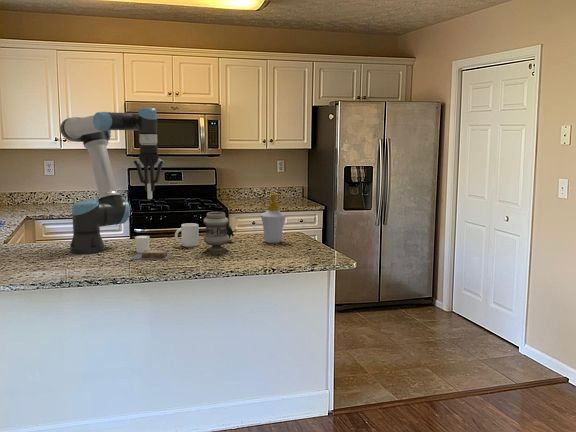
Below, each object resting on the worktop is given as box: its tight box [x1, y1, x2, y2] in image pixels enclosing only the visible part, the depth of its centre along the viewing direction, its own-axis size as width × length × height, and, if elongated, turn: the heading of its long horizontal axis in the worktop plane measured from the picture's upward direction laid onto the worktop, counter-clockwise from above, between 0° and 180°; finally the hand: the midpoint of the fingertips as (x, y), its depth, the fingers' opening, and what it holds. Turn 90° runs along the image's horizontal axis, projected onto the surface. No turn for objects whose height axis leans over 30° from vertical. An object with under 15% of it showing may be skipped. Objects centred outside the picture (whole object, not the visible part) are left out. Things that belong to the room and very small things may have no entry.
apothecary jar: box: [203, 211, 231, 254], centre depth 266 cm, size 12×12×18 cm
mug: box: [174, 222, 200, 248], centre depth 278 cm, size 12×8×10 cm
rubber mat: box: [130, 253, 173, 261], centre depth 253 cm, size 16×10×1 cm, turn 90°
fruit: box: [226, 224, 237, 239], centre depth 288 cm, size 10×11×15 cm
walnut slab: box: [141, 249, 168, 258], centre depth 252 cm, size 2×6×10 cm
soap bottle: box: [260, 193, 287, 244], centre depth 288 cm, size 13×13×25 cm
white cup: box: [134, 235, 151, 254], centre depth 264 cm, size 7×7×7 cm
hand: (150, 198), depth 249 cm, fingers closed
